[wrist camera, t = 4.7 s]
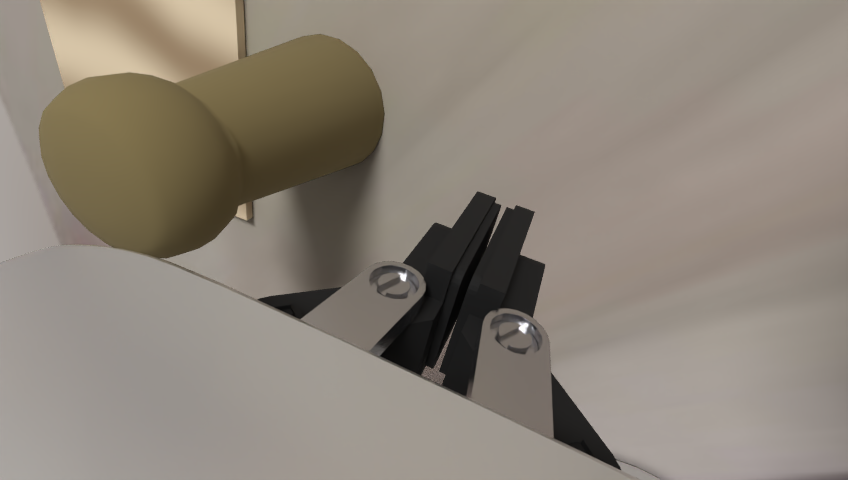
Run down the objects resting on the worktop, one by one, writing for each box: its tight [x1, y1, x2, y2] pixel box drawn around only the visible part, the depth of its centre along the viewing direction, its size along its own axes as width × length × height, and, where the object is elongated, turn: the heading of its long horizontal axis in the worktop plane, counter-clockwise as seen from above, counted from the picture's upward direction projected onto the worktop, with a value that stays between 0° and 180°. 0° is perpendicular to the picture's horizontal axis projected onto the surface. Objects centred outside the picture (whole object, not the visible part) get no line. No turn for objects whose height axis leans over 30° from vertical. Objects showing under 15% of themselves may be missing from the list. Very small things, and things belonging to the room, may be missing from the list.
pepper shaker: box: [39, 34, 384, 258], centre depth 15 cm, size 6×6×11 cm
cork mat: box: [40, 0, 253, 221], centre depth 21 cm, size 18×13×1 cm
